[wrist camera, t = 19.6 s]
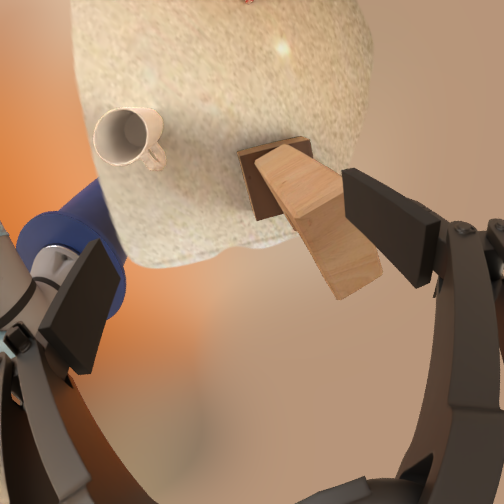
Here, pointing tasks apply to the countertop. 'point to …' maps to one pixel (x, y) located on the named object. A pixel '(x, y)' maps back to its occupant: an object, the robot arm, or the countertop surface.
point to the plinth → (255, 184)
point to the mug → (130, 137)
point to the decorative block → (320, 218)
